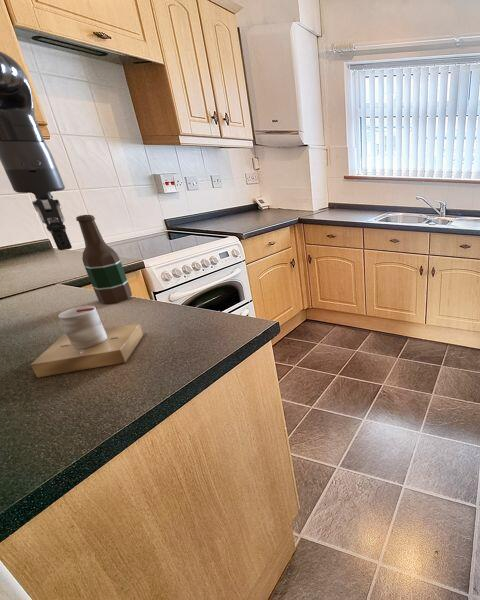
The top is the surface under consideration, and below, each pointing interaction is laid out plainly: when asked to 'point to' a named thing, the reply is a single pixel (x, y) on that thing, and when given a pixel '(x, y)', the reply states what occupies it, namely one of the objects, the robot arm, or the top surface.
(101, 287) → the beer bottle
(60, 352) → the wooden board
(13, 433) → the top surface
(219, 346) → the top surface
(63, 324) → the white short cylinder
